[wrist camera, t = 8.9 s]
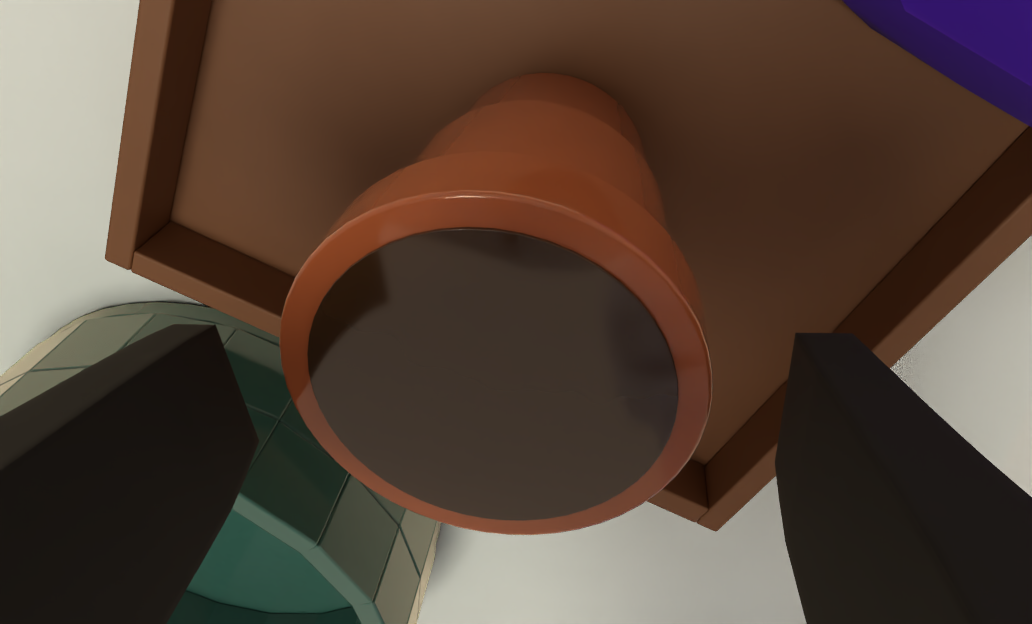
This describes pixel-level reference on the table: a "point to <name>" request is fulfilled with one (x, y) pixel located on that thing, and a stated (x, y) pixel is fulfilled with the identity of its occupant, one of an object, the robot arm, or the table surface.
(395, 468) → the flower pot
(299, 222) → the tray
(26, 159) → the table surface
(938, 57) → the spray bottle
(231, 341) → the shallow green dish
